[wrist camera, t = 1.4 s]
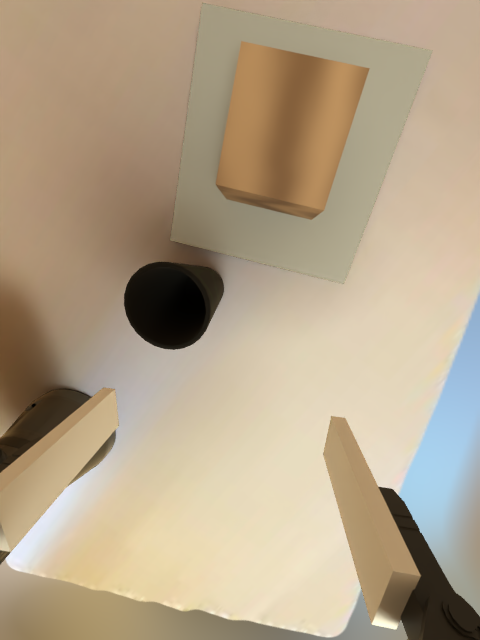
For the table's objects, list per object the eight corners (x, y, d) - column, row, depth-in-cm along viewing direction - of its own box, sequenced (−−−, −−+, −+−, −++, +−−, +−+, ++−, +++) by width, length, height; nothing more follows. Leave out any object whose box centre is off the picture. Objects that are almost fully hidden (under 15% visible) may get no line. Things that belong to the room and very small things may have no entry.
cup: (225, 253, 29) (197, 253, 18) (237, 310, 31) (219, 343, 20) (169, 264, 30) (110, 272, 19) (184, 319, 32) (139, 355, 21)
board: (173, 240, 29) (169, 240, 28) (205, 15, 23) (202, 2, 22) (340, 283, 29) (343, 284, 27) (424, 61, 22) (432, 50, 21)
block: (226, 199, 26) (215, 184, 20) (247, 93, 23) (241, 41, 18) (311, 219, 26) (324, 210, 20) (344, 114, 23) (369, 68, 17)
